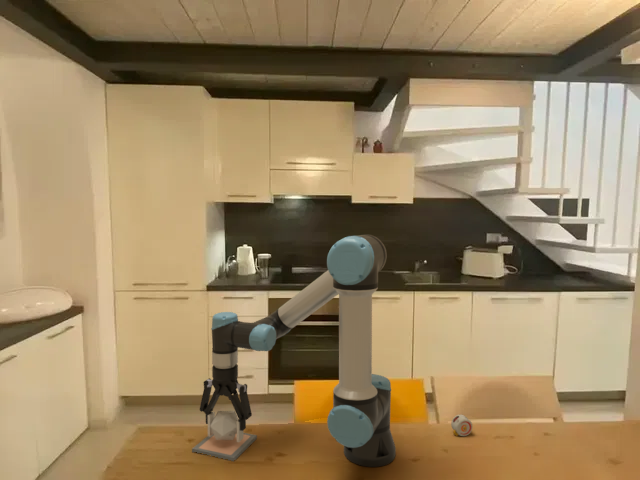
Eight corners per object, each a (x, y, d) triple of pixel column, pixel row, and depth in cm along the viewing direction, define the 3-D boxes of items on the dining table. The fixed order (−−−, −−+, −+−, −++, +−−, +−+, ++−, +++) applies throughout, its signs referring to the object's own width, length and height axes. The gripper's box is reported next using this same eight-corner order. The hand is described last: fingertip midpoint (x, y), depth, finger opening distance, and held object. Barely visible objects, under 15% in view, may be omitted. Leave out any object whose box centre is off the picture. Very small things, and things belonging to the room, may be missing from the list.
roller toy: (474, 436, 146) (474, 419, 146) (455, 438, 145) (456, 420, 144) (467, 430, 150) (467, 413, 150) (449, 431, 149) (449, 414, 149)
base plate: (256, 438, 144) (256, 435, 144) (233, 461, 130) (233, 457, 130) (218, 430, 148) (218, 427, 148) (192, 452, 135) (191, 448, 135)
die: (225, 450, 133) (244, 419, 136) (201, 433, 134) (220, 403, 137) (230, 446, 141) (248, 417, 144) (207, 430, 142) (225, 402, 145)
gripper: (263, 364, 138) (263, 437, 139) (201, 356, 145) (201, 425, 146) (251, 373, 131) (251, 449, 132) (186, 363, 138) (187, 436, 139)
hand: (225, 437), depth 139 cm, fingers closed on die, 9 cm apart
